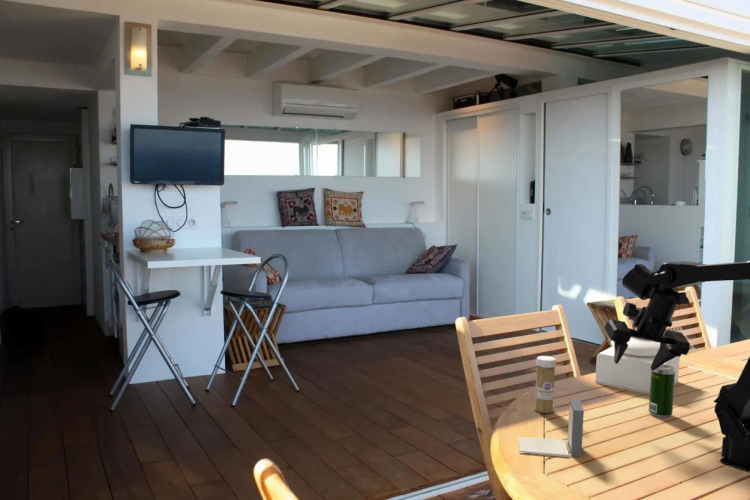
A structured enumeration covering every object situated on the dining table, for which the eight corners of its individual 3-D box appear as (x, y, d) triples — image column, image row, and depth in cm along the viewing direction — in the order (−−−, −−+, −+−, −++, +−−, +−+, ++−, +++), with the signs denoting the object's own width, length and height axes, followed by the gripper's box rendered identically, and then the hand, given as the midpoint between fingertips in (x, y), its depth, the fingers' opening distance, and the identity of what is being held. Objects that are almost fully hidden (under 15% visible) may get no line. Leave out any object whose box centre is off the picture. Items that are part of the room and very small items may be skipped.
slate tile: (576, 444, 147) (579, 399, 146) (581, 457, 140) (583, 410, 139) (567, 443, 147) (569, 399, 146) (570, 456, 141) (573, 410, 139)
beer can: (663, 420, 163) (666, 371, 162) (643, 413, 167) (646, 365, 166) (676, 416, 166) (680, 368, 164) (657, 409, 170) (660, 362, 169)
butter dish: (617, 370, 205) (620, 318, 203) (679, 382, 194) (683, 328, 192) (594, 383, 192) (597, 328, 190) (660, 397, 180) (664, 339, 178)
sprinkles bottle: (540, 414, 165) (543, 360, 164) (530, 408, 169) (533, 355, 168) (557, 412, 166) (559, 359, 165) (547, 406, 171) (549, 354, 169)
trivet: (564, 442, 148) (564, 440, 148) (568, 457, 140) (569, 455, 140) (518, 438, 150) (518, 436, 150) (519, 453, 142) (519, 450, 142)
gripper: (683, 300, 162) (657, 353, 169) (609, 286, 161) (586, 339, 167) (703, 325, 152) (675, 380, 159) (625, 310, 151) (600, 367, 157)
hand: (633, 365), depth 161 cm, fingers open, 9 cm apart
